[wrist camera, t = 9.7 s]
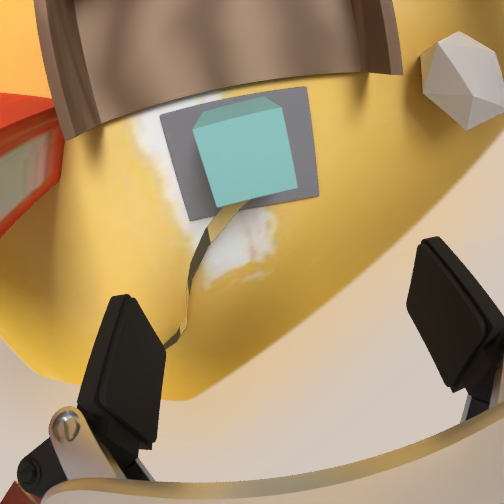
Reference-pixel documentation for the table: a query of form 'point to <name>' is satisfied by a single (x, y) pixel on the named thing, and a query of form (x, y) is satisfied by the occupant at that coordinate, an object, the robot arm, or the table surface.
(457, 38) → the die
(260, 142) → the teal block
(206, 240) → the curved strip
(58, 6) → the open box
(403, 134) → the table surface
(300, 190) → the mat
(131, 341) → the robot arm
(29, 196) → the file binder
